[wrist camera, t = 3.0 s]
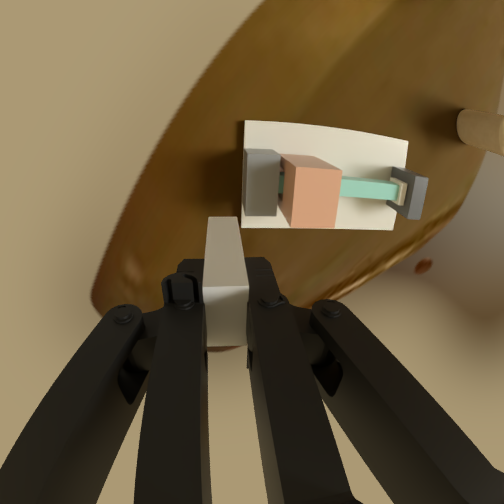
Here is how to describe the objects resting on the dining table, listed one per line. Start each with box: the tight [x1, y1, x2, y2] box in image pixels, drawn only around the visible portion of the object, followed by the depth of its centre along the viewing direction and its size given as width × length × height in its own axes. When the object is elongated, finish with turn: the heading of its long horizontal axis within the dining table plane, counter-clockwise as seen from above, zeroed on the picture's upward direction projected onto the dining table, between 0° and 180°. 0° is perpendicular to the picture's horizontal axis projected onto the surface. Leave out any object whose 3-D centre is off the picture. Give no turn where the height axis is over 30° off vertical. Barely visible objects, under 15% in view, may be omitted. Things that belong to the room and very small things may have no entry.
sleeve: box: [277, 154, 343, 228], centre depth 26 cm, size 5×4×8 cm
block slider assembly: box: [241, 120, 428, 230], centre depth 29 cm, size 12×20×6 cm, turn 88°
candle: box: [456, 109, 504, 156], centre depth 24 cm, size 6×6×10 cm
